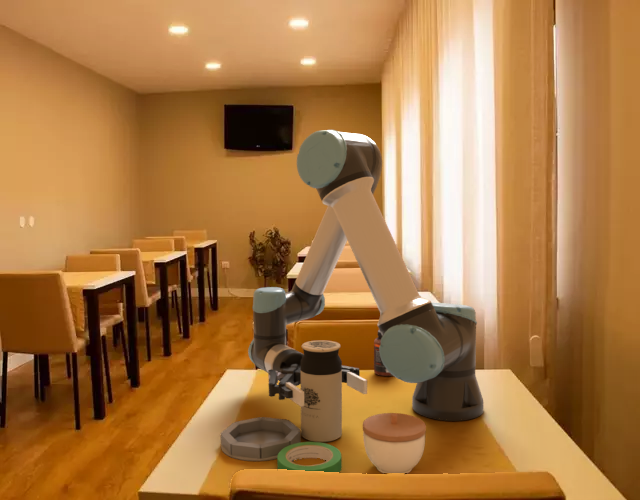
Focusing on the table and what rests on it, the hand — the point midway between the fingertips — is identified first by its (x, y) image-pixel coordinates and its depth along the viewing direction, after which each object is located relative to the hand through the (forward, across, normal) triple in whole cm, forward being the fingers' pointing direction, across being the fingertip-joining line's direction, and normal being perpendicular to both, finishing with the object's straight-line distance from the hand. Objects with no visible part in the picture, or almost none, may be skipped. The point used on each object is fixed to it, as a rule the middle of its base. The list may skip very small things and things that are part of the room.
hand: (334, 393), depth 115 cm
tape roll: (+7, +9, -10) cm, 15 cm away
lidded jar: (+14, -4, -10) cm, 18 cm away
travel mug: (-4, +1, -10) cm, 11 cm away
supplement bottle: (-32, -32, -10) cm, 46 cm away
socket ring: (-6, +13, -10) cm, 17 cm away
